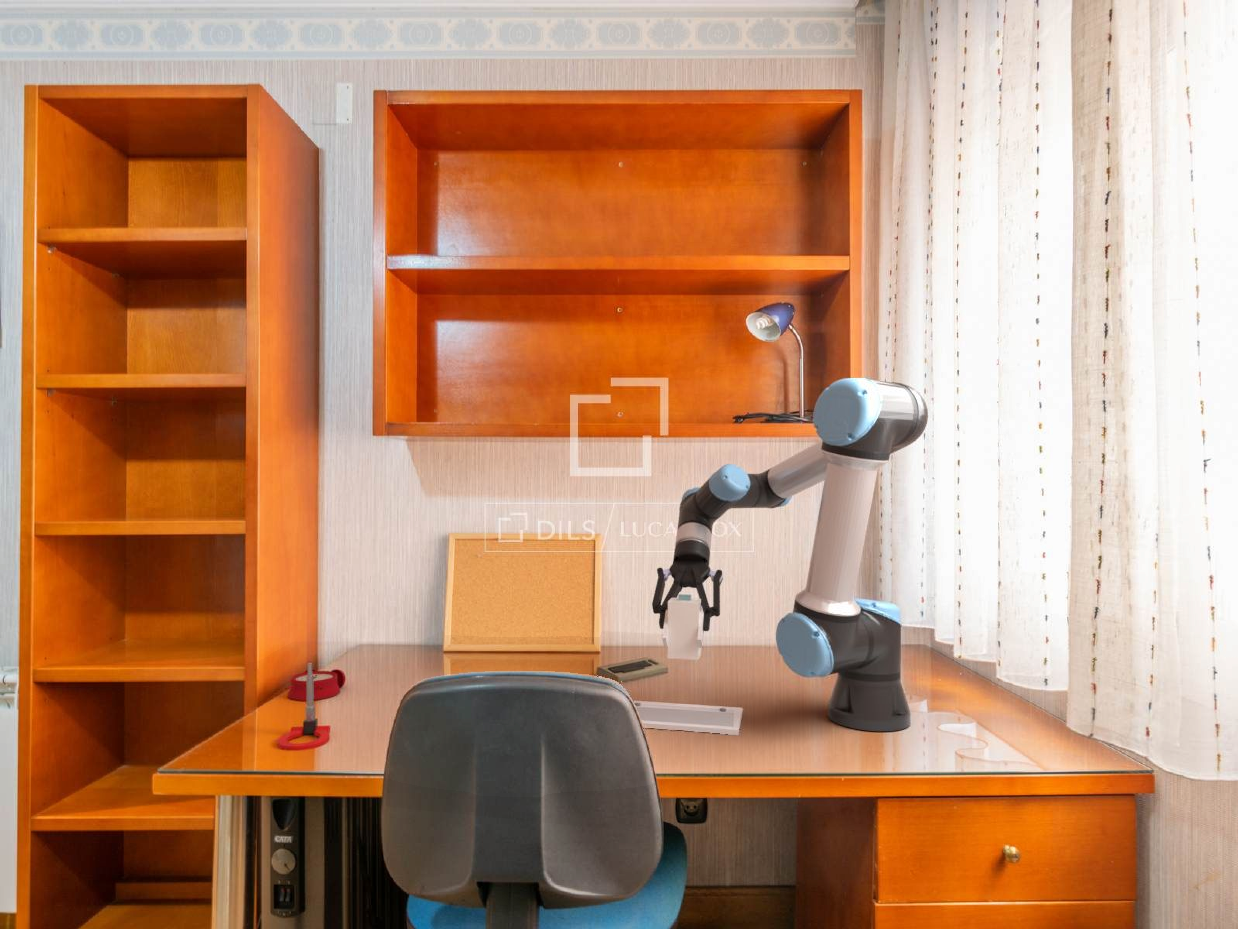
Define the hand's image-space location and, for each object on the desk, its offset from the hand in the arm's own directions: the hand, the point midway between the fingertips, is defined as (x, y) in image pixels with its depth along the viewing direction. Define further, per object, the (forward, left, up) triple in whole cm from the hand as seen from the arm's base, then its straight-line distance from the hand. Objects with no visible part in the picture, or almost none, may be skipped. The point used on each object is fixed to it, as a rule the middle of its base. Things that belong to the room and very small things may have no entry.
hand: (682, 642), depth 150 cm
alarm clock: (+79, -2, -15) cm, 81 cm away
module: (0, -4, -3) cm, 5 cm away
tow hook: (+63, +27, -15) cm, 70 cm away
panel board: (0, -1, -15) cm, 15 cm away
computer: (+16, -32, -15) cm, 39 cm away
